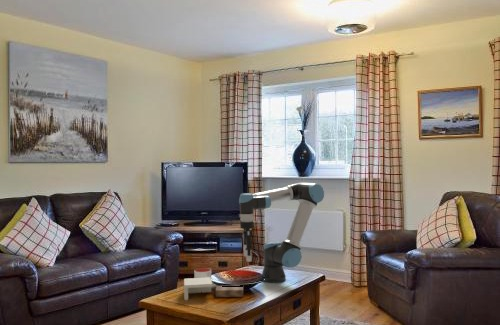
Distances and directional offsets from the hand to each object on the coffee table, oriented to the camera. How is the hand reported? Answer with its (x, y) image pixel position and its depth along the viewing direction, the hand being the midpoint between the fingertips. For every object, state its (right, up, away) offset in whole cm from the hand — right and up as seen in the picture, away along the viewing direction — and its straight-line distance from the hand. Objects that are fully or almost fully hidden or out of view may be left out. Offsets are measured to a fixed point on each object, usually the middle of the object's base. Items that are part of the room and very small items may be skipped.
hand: (247, 258), depth 260 cm
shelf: (-27, -20, -4) cm, 34 cm away
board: (-10, -20, -2) cm, 22 cm away
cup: (-26, -20, +13) cm, 36 cm away
